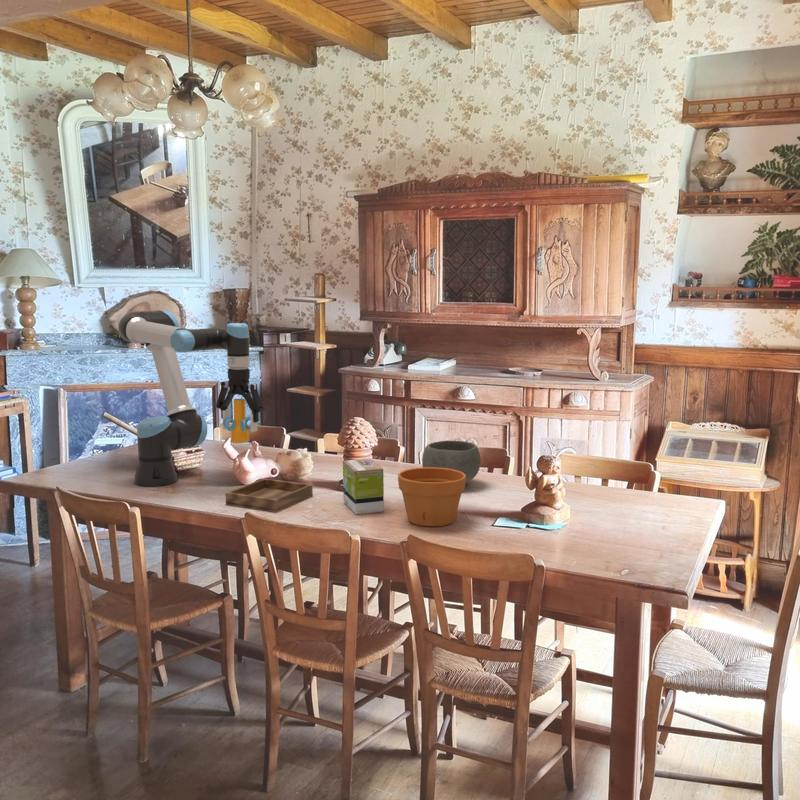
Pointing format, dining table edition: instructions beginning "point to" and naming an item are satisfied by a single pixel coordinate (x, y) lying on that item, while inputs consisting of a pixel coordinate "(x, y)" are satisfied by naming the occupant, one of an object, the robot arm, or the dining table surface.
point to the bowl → (453, 457)
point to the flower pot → (431, 494)
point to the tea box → (363, 486)
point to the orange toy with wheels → (238, 423)
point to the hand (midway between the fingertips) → (239, 429)
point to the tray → (269, 495)
